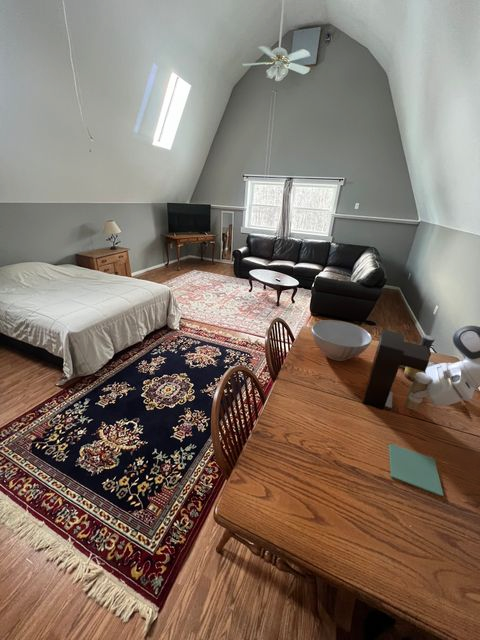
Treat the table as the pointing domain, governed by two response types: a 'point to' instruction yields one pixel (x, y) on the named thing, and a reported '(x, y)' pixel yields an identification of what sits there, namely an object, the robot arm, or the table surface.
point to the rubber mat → (414, 469)
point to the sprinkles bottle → (418, 384)
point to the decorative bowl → (340, 339)
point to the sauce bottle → (428, 342)
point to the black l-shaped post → (391, 367)
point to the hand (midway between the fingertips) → (415, 390)
